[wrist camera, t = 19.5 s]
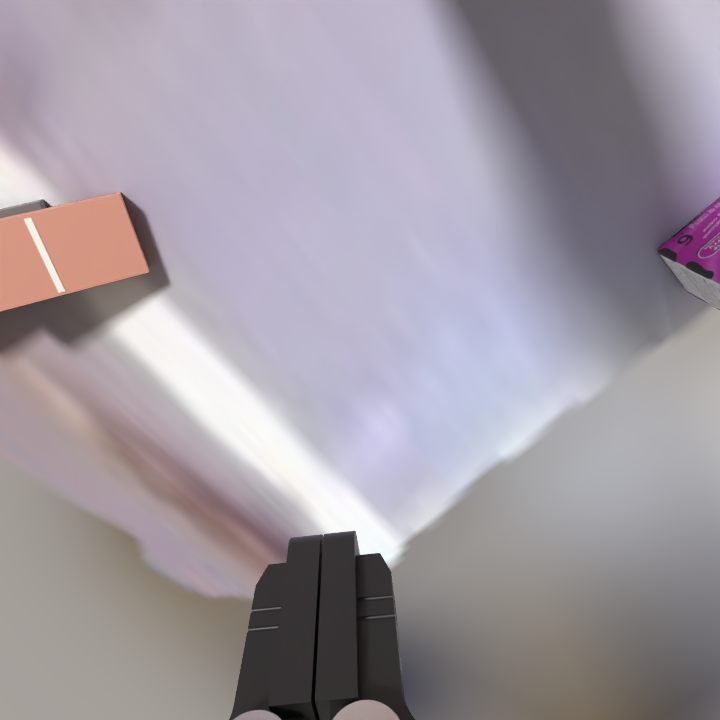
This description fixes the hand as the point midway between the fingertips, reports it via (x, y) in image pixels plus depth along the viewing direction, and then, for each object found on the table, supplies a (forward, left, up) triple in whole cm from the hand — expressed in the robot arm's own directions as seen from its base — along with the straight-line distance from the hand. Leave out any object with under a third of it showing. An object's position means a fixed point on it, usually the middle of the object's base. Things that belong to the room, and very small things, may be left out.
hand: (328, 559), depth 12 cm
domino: (-3, -14, -26) cm, 30 cm away
